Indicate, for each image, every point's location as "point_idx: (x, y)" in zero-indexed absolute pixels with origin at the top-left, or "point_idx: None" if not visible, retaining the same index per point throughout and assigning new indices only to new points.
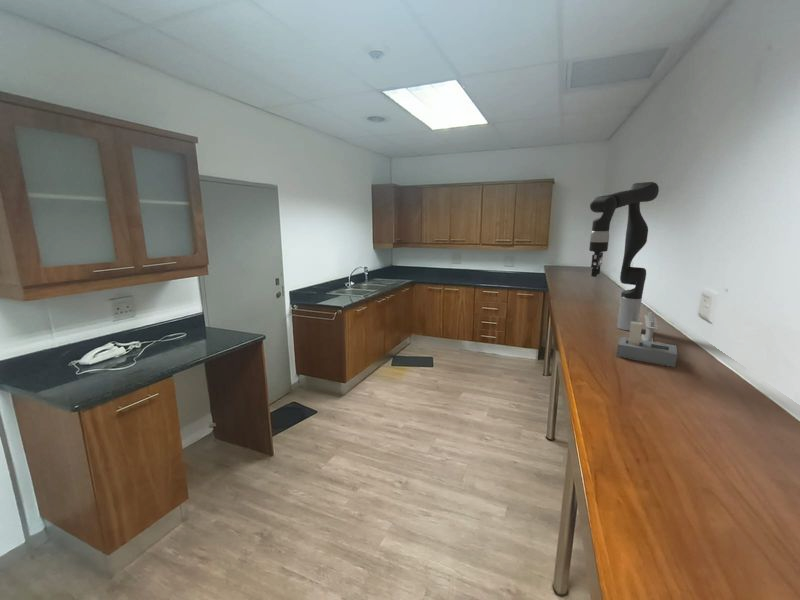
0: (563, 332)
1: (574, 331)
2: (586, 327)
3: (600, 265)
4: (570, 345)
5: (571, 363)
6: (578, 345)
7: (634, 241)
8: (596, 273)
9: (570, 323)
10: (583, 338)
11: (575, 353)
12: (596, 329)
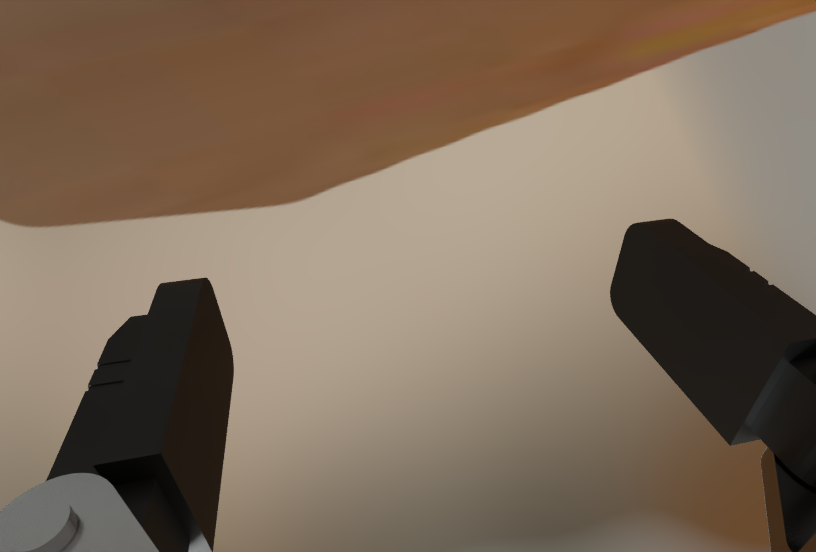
0: (306, 190)
1: (233, 147)
2: (55, 108)
3: (135, 509)
4: (526, 87)
5: (790, 6)
6: (505, 48)
7: None
8: (714, 260)
9: (59, 222)
10: (348, 58)
11: (645, 27)
12: (37, 29)
